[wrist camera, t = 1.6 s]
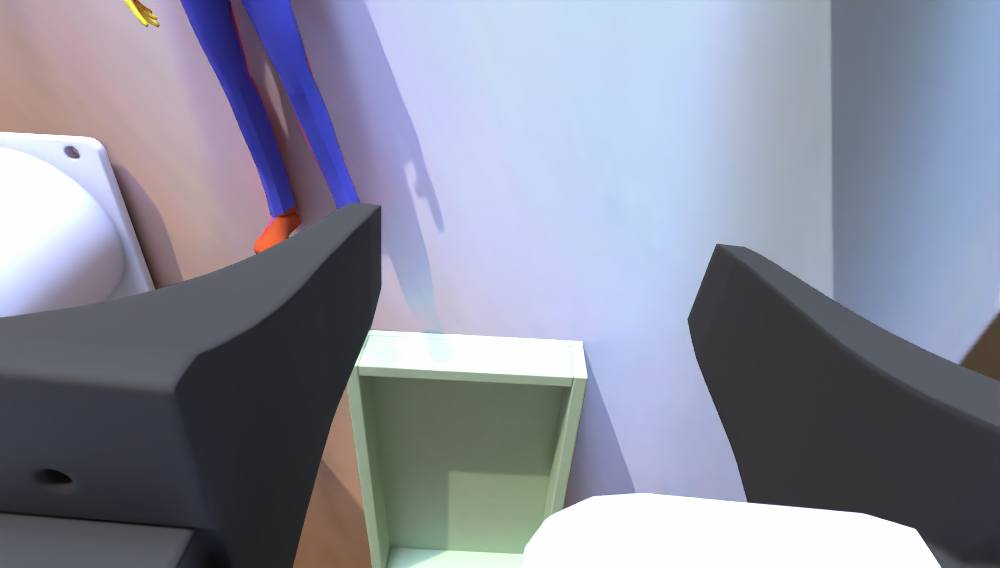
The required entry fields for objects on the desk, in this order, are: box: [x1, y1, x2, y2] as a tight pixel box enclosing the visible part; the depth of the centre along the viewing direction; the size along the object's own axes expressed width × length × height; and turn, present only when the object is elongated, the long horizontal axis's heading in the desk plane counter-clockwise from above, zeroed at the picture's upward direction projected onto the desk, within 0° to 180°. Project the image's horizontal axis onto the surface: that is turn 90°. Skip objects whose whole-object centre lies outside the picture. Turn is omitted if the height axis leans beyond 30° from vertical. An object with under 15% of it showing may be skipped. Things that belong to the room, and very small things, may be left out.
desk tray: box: [347, 330, 588, 568], centre depth 29 cm, size 10×17×2 cm, turn 177°
